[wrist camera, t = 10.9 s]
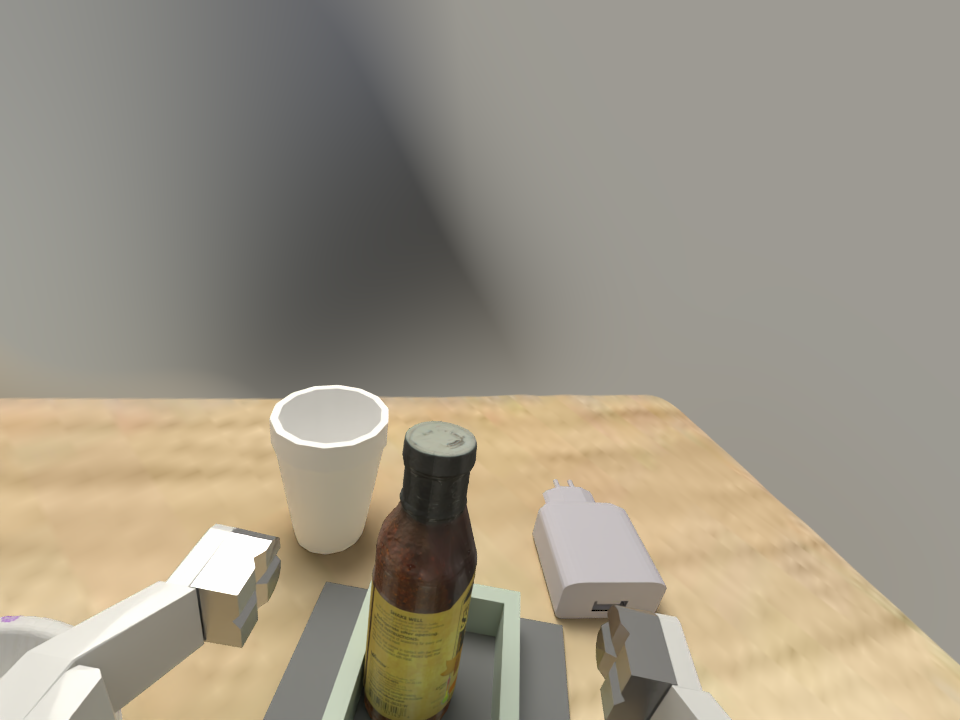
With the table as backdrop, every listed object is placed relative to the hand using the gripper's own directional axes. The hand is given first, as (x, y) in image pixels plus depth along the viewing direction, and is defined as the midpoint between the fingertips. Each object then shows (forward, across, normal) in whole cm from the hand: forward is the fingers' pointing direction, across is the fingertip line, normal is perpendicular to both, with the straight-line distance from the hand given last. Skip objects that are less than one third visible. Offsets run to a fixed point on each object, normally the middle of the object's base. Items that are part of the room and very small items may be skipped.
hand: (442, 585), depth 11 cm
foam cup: (+24, +11, +26) cm, 37 cm away
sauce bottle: (+10, +1, +25) cm, 27 cm away
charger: (+26, -13, +26) cm, 39 cm away
